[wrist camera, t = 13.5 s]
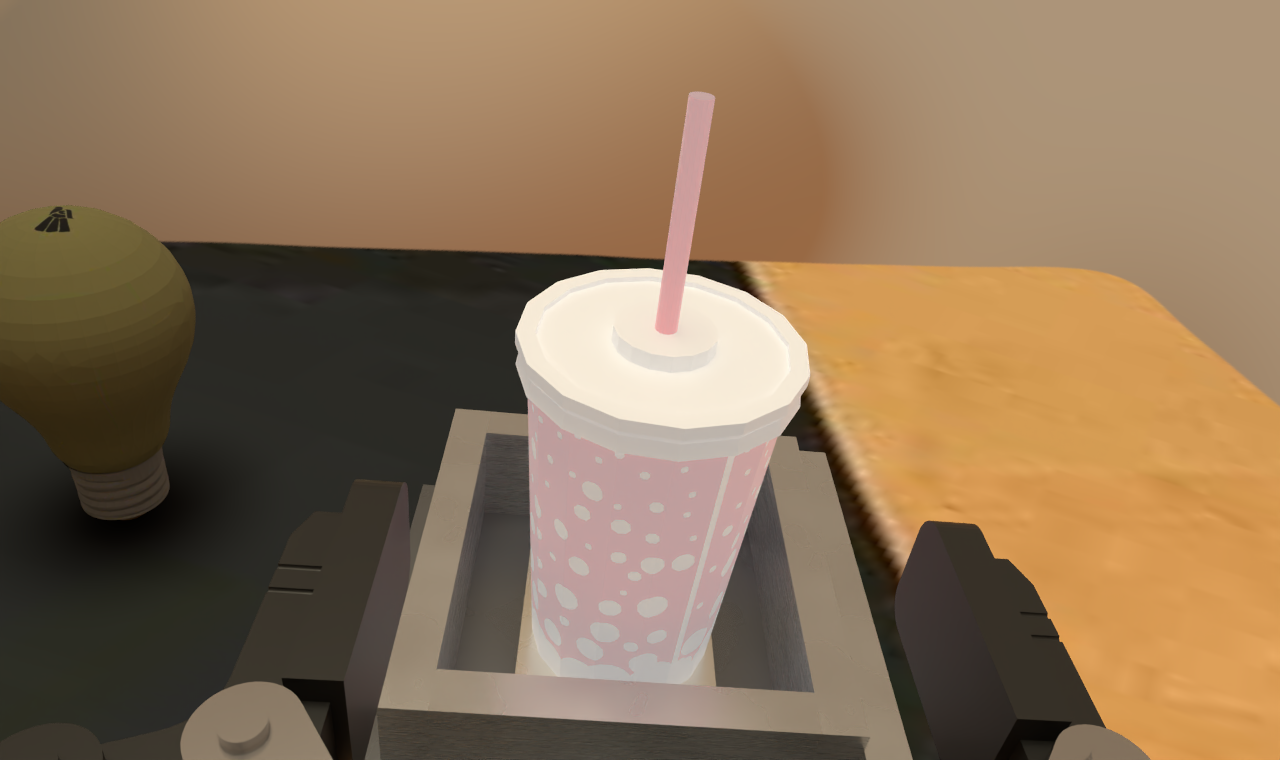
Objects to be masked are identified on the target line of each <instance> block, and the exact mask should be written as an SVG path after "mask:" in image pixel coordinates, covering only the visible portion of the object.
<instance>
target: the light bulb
mask: <svg viewBox="0 0 1280 760" xmlns="http://www.w3.org/2000/svg"><path fill="white" fill-rule="evenodd" d="M194 330H195V307H194V301H193V296H192V292H191V288H190V285H189V283H188V280H187V278H186V276H185V274H184V272H183V270H182V268H181V267H180V266H179V264H178V263H177V261H176V260H175V258H174V257H173V256H172V254H171V253H170V251H169V250H168V249H167V248H166V247H165V246H164V245H163V244H162V243H161V242H160V241H158V240H157V239H156V238H155V237H154V236H153V235H151V234H150V233H149V232H147V231H146V230H144V229H142V228H141V227H139V226H137V225H136V224H134V223H133V222H131V221H129V220H127V219H124V218H122V217H119V216H117V215H114V214H111V213H108V212H105V211H102V210H99V209H95V208H88V207H79V206H72V205H66V206H48V207H43V208H37V209H32V210H29V211H26V212H23V213H20V214H17V215H14V216H12V217H9V218H7V219H5V220H4V221H2V222H0V401H1V402H3V403H4V404H5V405H7V406H8V407H9V408H11V409H12V410H13V411H15V412H16V413H17V414H19V415H20V416H21V417H23V418H24V419H25V420H27V421H28V422H29V423H30V424H31V425H32V426H33V427H35V428H36V430H37V431H38V432H39V433H40V434H41V435H42V436H43V438H44V439H45V441H46V442H47V444H48V445H49V447H50V449H51V450H52V452H53V453H54V454H55V455H56V456H57V457H58V458H59V459H60V460H61V461H62V462H63V463H64V464H65V465H66V466H67V467H69V469H70V470H71V474H72V478H73V480H74V482H75V486H76V488H77V491H78V496H79V499H80V502H81V506H82V508H83V510H84V511H85V512H86V513H87V514H89V515H90V516H92V517H95V518H98V519H104V520H132V519H136V518H138V517H140V516H142V515H143V514H145V513H146V512H148V511H150V510H152V509H153V508H155V507H156V506H157V505H159V504H160V503H161V502H162V501H163V500H164V499H165V497H166V496H167V494H168V492H169V488H170V484H169V477H168V474H167V469H166V465H165V460H164V457H163V450H162V445H163V444H164V442H165V439H166V437H167V434H168V431H169V426H170V407H171V402H172V398H173V394H174V391H175V388H176V386H177V384H178V381H179V379H180V377H181V374H182V372H183V370H184V367H185V365H186V363H187V360H188V357H189V354H190V350H191V347H192V343H193V340H194Z"/></svg>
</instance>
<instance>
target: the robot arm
mask: <svg viewBox="0 0 1280 760" xmlns="http://www.w3.org/2000/svg"><path fill="white" fill-rule="evenodd" d="M409 573H410V530H409V506H408V489H407V484H406V483H404V482H390V481H376V480H362V479H356V480H355V481H354V483H353V484H352V487H351V489H350V492H349V495H348V498H347V500H346V503H345V506H344V509H343V511H342V513H333V512H319V511H315V512H314V513H313V514H312V515H311V516H310V517H309V518H308V519H307V520H306V521H305V522H304V523H303V524H302V525H300V526H299V527H298V528H297V529H296V530H295V531H294V532H293V533H292V534H291V535H290V537H289V540H288V542H287V544H286V547H285V549H284V551H283V554H282V556H281V559H280V561H279V563H278V569H276V570H275V573H274V575H273V578H272V580H271V582H270V585H269V590H268V593H266V594H265V596H264V599H263V601H262V604H261V606H260V608H259V611H258V613H257V615H256V618H255V620H254V623H253V625H252V627H251V630H250V632H249V634H248V637H247V639H246V641H245V644H244V646H243V649H242V651H241V653H240V656H239V658H238V660H237V663H236V665H235V667H234V670H233V672H232V675H231V677H230V679H229V681H228V683H227V685H226V686H225V687H224V689H223V690H222V691H220V692H219V693H217V694H215V695H213V696H212V697H210V698H209V699H208V700H206V701H205V702H204V703H203V704H202V705H201V706H199V707H198V708H197V710H196V711H195V712H194V713H193V714H192V715H191V717H190V719H188V720H186V721H184V722H182V723H180V724H177V725H175V726H172V727H170V728H167V729H163V730H160V731H156V732H152V733H148V734H143V735H139V736H135V737H130V738H126V739H121V740H117V741H113V742H108V743H104V744H100V743H99V741H98V739H97V738H96V737H95V735H94V734H93V733H91V732H90V731H89V730H87V729H85V728H83V727H81V726H78V725H74V724H69V723H50V724H44V725H39V726H35V727H32V728H29V729H25V730H23V731H21V732H18V733H16V734H14V735H12V736H10V737H8V738H6V739H5V740H3V741H1V742H0V760H365V756H366V752H367V748H368V744H369V740H370V736H371V732H372V728H373V724H374V720H375V716H376V712H377V708H378V704H379V700H380V696H381V692H382V689H383V685H384V681H385V677H386V673H387V669H388V665H389V661H390V657H391V653H392V649H393V645H394V641H395V637H396V633H397V629H398V625H399V621H400V617H401V613H402V609H403V605H404V602H405V597H406V593H407V588H408V581H409ZM1047 614H1048V613H1047V611H1046V609H1045V607H1044V605H1043V603H1042V601H1041V599H1040V597H1039V595H1038V593H1037V591H1036V589H1035V587H1034V585H1033V584H1032V583H1031V582H1030V581H1029V580H1028V579H1027V578H1026V577H1025V576H1024V575H1023V574H1022V573H1021V572H1020V571H1019V570H1018V569H1017V568H1016V567H1015V566H1014V565H1013V564H1012V563H1011V562H1010V561H1009V560H1008V559H995V558H994V557H993V554H992V552H991V550H990V548H989V546H988V544H987V542H986V540H985V538H984V535H983V533H982V532H981V530H980V528H979V527H978V526H976V525H975V524H967V523H953V522H938V521H926V522H925V523H924V524H923V525H922V526H921V528H920V530H919V533H918V535H917V538H916V541H915V543H914V546H913V548H912V551H911V553H910V556H909V559H908V561H907V564H906V566H905V569H904V571H903V574H902V577H901V579H900V582H899V584H898V587H897V591H896V596H895V618H896V624H897V628H898V631H899V635H900V638H901V641H902V644H903V647H904V650H905V653H906V656H907V659H908V662H909V665H910V668H911V671H912V675H913V678H914V681H915V684H916V687H917V690H918V693H919V696H920V699H921V702H922V705H923V708H924V711H925V715H926V718H927V721H928V724H929V727H930V730H931V733H932V736H933V739H934V742H935V745H936V748H937V751H938V755H939V758H940V760H1150V758H1149V757H1148V756H1147V755H1146V754H1145V753H1144V752H1143V751H1142V750H1141V749H1140V748H1139V747H1137V746H1136V745H1135V744H1134V743H1132V742H1131V741H1130V740H1128V739H1126V738H1125V737H1123V736H1122V735H1120V734H1118V733H1116V732H1114V731H1112V730H1109V729H1106V727H1105V725H1104V723H1103V721H1102V719H1101V717H1100V715H1099V713H1098V711H1097V710H1096V708H1095V706H1094V704H1093V702H1092V700H1091V698H1090V696H1089V694H1088V692H1087V690H1086V688H1085V686H1084V684H1083V682H1082V680H1081V678H1080V676H1079V674H1078V672H1077V670H1076V668H1075V666H1074V664H1073V662H1072V660H1071V658H1070V656H1069V654H1068V652H1067V650H1066V648H1065V646H1064V644H1063V642H1059V635H1058V633H1057V631H1056V629H1055V627H1054V625H1053V623H1052V621H1051V619H1048V618H1047Z"/></svg>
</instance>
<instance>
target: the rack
mask: <svg viewBox="0 0 1280 760" xmlns="http://www.w3.org/2000/svg"><path fill="white" fill-rule="evenodd" d="M365 760H913V759H912V756H911V752H910V749H909V745H908V742H907V738H906V735H905V731H904V728H903V724H902V721H901V717H900V714H899V710H898V707H897V703H896V700H895V696H894V693H893V689H892V686H891V682H890V679H889V675H888V672H887V668H886V665H885V661H884V658H883V654H882V651H881V647H880V644H879V640H878V637H877V633H876V630H875V626H874V623H873V619H872V616H871V612H870V609H869V605H868V602H867V598H866V595H865V591H864V588H863V584H862V581H861V577H860V574H859V570H858V567H857V563H856V560H855V556H854V553H853V549H852V546H851V542H850V539H849V535H848V532H847V528H846V525H845V521H844V518H843V514H842V511H841V507H840V504H839V500H838V496H837V493H836V489H835V486H834V482H833V479H832V475H831V472H830V468H829V465H828V461H827V458H826V454H825V453H820V452H808V451H799V448H798V444H797V440H796V437H788V436H778V437H777V440H776V443H775V446H774V449H773V452H772V455H771V458H770V461H769V464H768V467H767V470H766V473H765V476H764V479H763V482H762V484H761V487H760V490H759V493H758V496H757V499H756V502H755V505H754V508H753V511H752V514H751V517H750V520H749V523H748V526H747V529H746V532H745V535H744V538H743V541H742V544H741V547H740V550H739V553H738V556H737V559H736V562H735V564H734V567H733V570H732V573H731V576H730V579H729V582H728V585H727V588H726V591H725V594H724V597H723V600H722V603H721V606H720V609H719V612H718V615H717V618H716V621H715V624H714V627H713V630H712V633H711V636H710V639H709V642H708V644H707V647H706V650H705V653H704V655H703V657H702V658H701V660H700V662H699V663H698V665H697V667H696V668H695V670H694V672H693V673H692V675H691V677H690V678H689V679H687V680H686V681H684V682H683V683H681V684H668V683H652V682H636V681H620V680H604V679H588V678H572V677H557V675H556V674H555V673H554V672H553V671H552V669H551V668H550V667H549V666H548V665H547V663H546V662H545V661H544V660H543V659H542V657H541V656H540V655H539V652H538V648H537V644H536V640H535V637H534V633H533V629H532V598H531V543H530V488H529V433H528V415H525V414H513V413H501V412H489V411H477V410H465V409H456V410H455V414H454V418H453V422H452V425H451V429H450V433H449V437H448V440H447V444H446V448H445V452H444V455H443V459H442V463H441V467H440V470H439V474H438V478H437V482H436V486H434V485H423V487H422V491H421V494H420V498H419V501H418V505H417V508H416V512H415V515H414V519H413V522H412V526H411V529H410V573H409V581H408V588H407V593H406V597H405V602H404V605H403V609H402V613H401V617H400V621H399V625H398V629H397V633H396V637H395V641H394V645H393V649H392V653H391V657H390V661H389V665H388V669H387V673H386V677H385V681H384V685H383V689H382V692H381V696H380V700H379V704H378V708H377V712H376V716H375V720H374V724H373V728H372V732H371V736H370V740H369V744H368V748H367V752H366V756H365Z"/></svg>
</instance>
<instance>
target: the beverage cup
mask: <svg viewBox="0 0 1280 760" xmlns="http://www.w3.org/2000/svg"><path fill="white" fill-rule="evenodd" d="M714 102H715V96H713V95H711V94H709V93H705V92H691V93H689V97H688V104H687V111H686V118H685V125H684V132H683V139H682V145H681V152H680V160H679V166H678V173H677V180H676V187H675V194H674V200H673V208H672V214H671V221H670V227H669V234H668V241H667V248H666V256H665V262H664V268H663V270H656V269H650V268H646V269H620V270H599V271H595V272H592V273H588V274H584V275H581V276H577V277H573V278H569V279H566V280H562V281H558V282H556V283H555V284H553V285H552V286H551V287H549V288H548V289H546V290H545V291H543V292H542V293H540V294H539V295H538V296H536V297H535V298H533V299H532V300H530V301H529V302H527V305H526V307H525V309H524V312H523V314H522V317H521V319H520V321H519V324H518V326H517V329H516V332H515V344H516V347H517V350H518V353H519V354H518V357H517V360H516V367H517V370H518V373H519V376H520V379H521V382H522V385H523V388H524V391H525V394H526V397H527V398H528V433H529V488H530V543H531V598H532V629H533V633H534V637H535V640H536V644H537V648H538V652H539V655H540V656H541V657H542V659H543V660H544V661H545V662H546V663H547V665H548V666H549V667H550V668H551V669H552V671H553V672H554V673H555V674H556V675H557V677H572V678H588V679H604V680H620V681H636V682H652V683H668V684H681V683H683V682H684V681H686V680H687V679H689V678H690V677H691V675H692V673H693V672H694V670H695V668H696V667H697V665H698V663H699V662H700V660H701V658H702V657H703V655H704V653H705V650H706V647H707V644H708V642H709V639H710V636H711V633H712V630H713V627H714V624H715V621H716V618H717V615H718V612H719V609H720V606H721V603H722V600H723V597H724V594H725V591H726V588H727V585H728V582H729V579H730V576H731V573H732V570H733V567H734V564H735V562H736V559H737V556H738V553H739V550H740V547H741V544H742V541H743V538H744V535H745V532H746V529H747V526H748V523H749V520H750V517H751V514H752V511H753V508H754V505H755V502H756V499H757V496H758V493H759V490H760V487H761V484H762V482H763V479H764V476H765V473H766V470H767V467H768V464H769V461H770V458H771V455H772V452H773V449H774V446H775V443H776V440H777V437H778V436H780V435H781V434H782V432H783V431H784V429H785V428H786V426H787V425H788V424H789V422H790V421H791V419H792V418H793V416H794V415H795V414H796V412H797V411H798V409H799V408H800V396H801V395H802V393H803V392H804V391H805V389H806V388H807V385H808V382H809V378H810V369H809V360H808V351H807V344H806V343H805V342H804V340H803V339H802V338H801V337H800V335H799V334H798V333H797V332H796V330H795V329H794V328H793V327H792V325H791V324H790V323H789V322H788V320H787V319H786V318H785V317H784V316H783V315H782V314H780V313H779V312H777V311H775V310H774V309H772V308H771V307H769V306H767V305H766V304H764V303H763V302H761V301H759V300H758V299H756V298H755V297H753V296H751V295H750V294H748V293H747V292H744V291H741V290H738V289H736V288H733V287H730V286H727V285H724V284H721V283H718V282H715V281H713V280H710V279H707V278H704V277H701V276H697V275H690V274H687V268H688V261H689V255H690V249H691V243H692V237H693V231H694V224H695V218H696V212H697V206H698V200H699V194H700V187H701V182H702V175H703V169H704V163H705V157H706V151H707V145H708V139H709V132H710V126H711V120H712V114H713V108H714Z"/></svg>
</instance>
